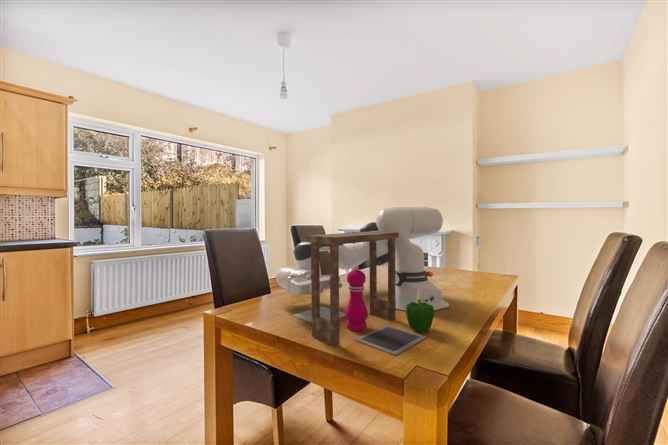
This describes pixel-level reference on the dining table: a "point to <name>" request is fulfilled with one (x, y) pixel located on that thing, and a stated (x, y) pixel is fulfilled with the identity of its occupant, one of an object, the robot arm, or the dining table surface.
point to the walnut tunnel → (378, 307)
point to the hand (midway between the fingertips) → (331, 287)
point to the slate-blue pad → (323, 313)
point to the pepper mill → (356, 301)
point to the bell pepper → (419, 316)
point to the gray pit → (390, 339)
